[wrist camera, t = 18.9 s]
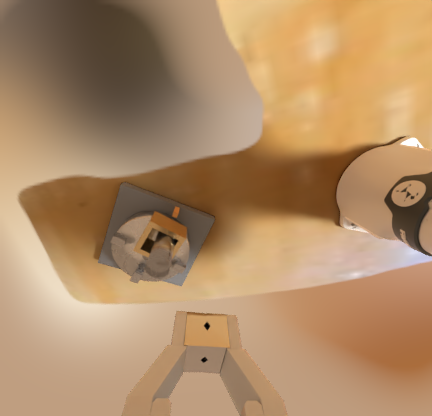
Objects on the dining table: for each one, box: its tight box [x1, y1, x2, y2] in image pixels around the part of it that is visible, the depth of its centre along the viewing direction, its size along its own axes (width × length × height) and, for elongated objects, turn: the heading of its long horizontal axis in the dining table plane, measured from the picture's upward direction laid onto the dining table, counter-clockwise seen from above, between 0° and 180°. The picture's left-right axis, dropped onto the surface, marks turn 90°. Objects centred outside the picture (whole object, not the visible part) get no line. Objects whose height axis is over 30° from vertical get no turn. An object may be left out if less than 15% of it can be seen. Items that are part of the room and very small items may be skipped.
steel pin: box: [145, 231, 176, 278], centre depth 29 cm, size 3×3×9 cm
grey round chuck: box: [110, 211, 190, 283], centre depth 34 cm, size 14×13×6 cm
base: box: [98, 182, 215, 286], centre depth 37 cm, size 17×17×4 cm
